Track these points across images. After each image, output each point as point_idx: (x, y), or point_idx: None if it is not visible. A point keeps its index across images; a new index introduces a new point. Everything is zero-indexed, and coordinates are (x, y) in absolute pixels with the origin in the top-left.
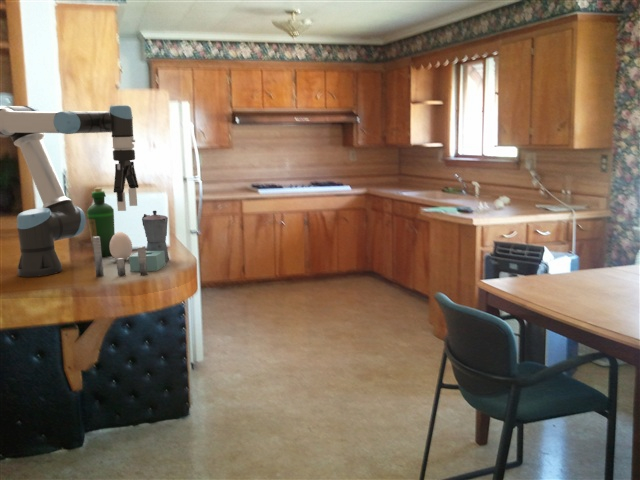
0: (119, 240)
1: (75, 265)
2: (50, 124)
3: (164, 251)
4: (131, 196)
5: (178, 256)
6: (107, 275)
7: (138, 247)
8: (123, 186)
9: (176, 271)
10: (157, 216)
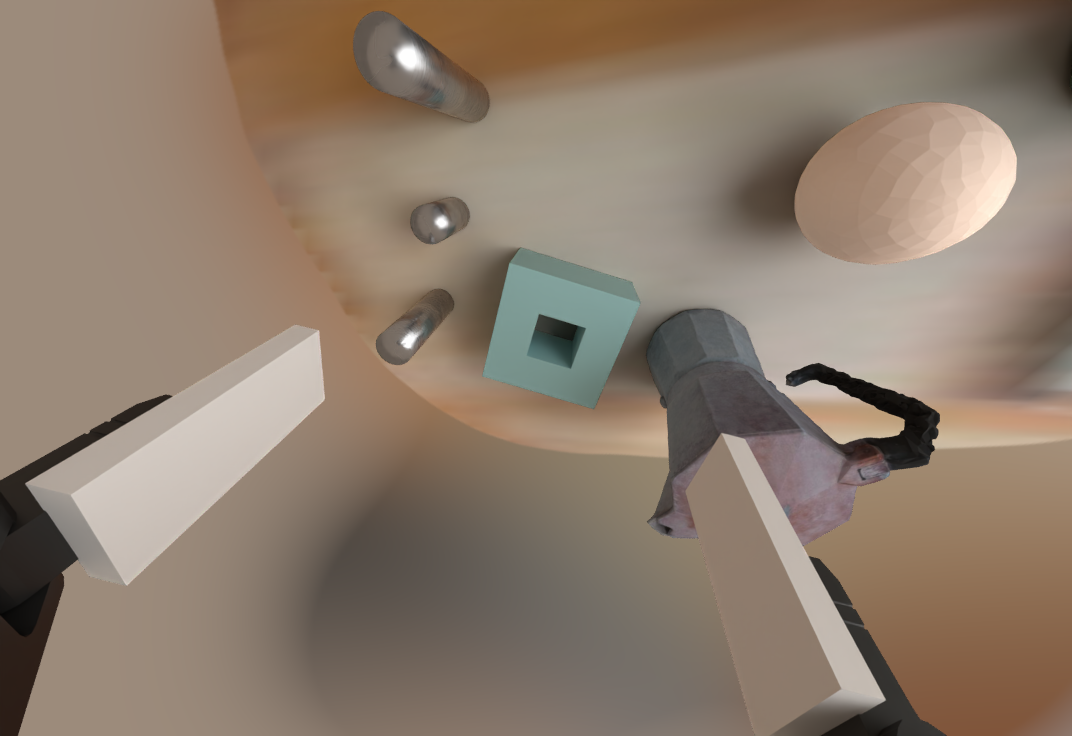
0: (855, 193)
1: None
2: None
3: (593, 406)
4: (747, 554)
5: None
6: (469, 143)
7: (382, 336)
8: None
9: (461, 403)
10: None
